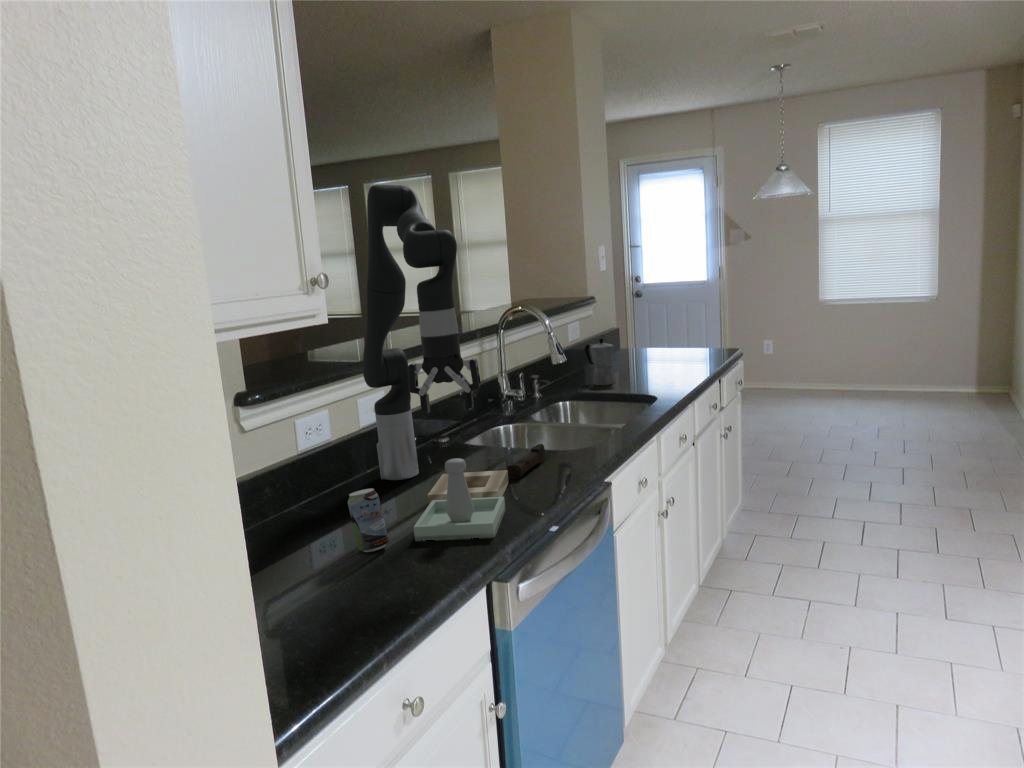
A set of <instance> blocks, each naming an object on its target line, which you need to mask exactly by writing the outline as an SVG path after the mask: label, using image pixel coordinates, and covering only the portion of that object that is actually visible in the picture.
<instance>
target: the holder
mask: <svg viewBox="0 0 1024 768" xmlns="http://www.w3.org/2000/svg"><path fill="white" fill-rule="evenodd" d="M464 475H465V479H466V482H467V486H468V489H469V492H470V496H471V498H487V497H504V494H505V491H506V489H507V487H508V484H509V480H510V479H509V478H508V470H506V469H504V470H485V471H471V472H469V471H468V472H467V471H466V472H464ZM439 477H440V478H439V479H438V480H437V481H436V483H435V484H434V486H433V487H432V489H431V490H430V491H429V492H428V493H427V501H428V505H429V504H430V503H431V501H432V500H447V488H448V473H442V475H441V476H439Z"/></svg>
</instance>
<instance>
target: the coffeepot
mask: <svg viewBox="0 0 1024 768" xmlns="http://www.w3.org/2000/svg"><path fill="white" fill-rule="evenodd" d="M598 341H599V343H596V344H594V343H587V344H586V345H585V347H584V352H585V355H586V359H587V361H588V363H589V365H594V368H593V378H592V384H593V385H594V386H599V385H602V386H610V384H611V385H614V384H616V383H617V380H616V379H617V378H616V375H615V371H614V367H613V365H612V363H613V360H614V350H615V349H616V346H615V345H614V344H611V343H606V342H604V338H602V337H601V338H599V339H598ZM590 354H591V355H590Z"/></svg>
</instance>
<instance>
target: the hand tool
mask: <svg viewBox="0 0 1024 768" xmlns="http://www.w3.org/2000/svg"><path fill="white" fill-rule="evenodd" d="M545 460H546V450H545V445H544V444H543V443H539V444H537V445H535V446H533V447H531V448H530V452H529V453H527V454H526V455H525V456H523V457H522V458H520V459H519V460H517V461H515V462H514V463H512V464H510V465H506V466H507V467H506V469H505V470H508V480H520V479H521V478H523V475H524V474H525V473H526V472H528V471H529V470H531V469H533V468H534V467H535V466H537V465H542V464H543V463H544V462H545Z"/></svg>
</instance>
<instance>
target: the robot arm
mask: <svg viewBox="0 0 1024 768" xmlns="http://www.w3.org/2000/svg"><path fill="white" fill-rule="evenodd" d="M366 200H367V201H366V202H367V203H366V204H367V205H366V214H367V216H366V217H367V239H368V245H367V246H368V255H367V256H368V258H367V259H368V261H367V277H366V324H365V325H366V326H365V327H366V329H365V339H364V348H363V354H362V355H363V356H362V374H363V379H364V382H365V383H366V385H367V386H368V387H369V388H373V389H379V388H384V387H389V386H391V387H390V389H389V391H388V392H387V393H386V394H385V395H383V397H381V398H380V399H378V400H376V401H375V402H374V404H373V406H374V413H375V415H374V416H375V423H376V429H377V437H378V442H377V443H376V450H377V457H378V464H379V471H380V472H379V473H380V474H379V475H380V479H381V480H388V481H399V480H400V481H401V480H407V479H410V478H413V477H416V476H418V474H419V473H420V472H419V463H418V453H417V448H416V447H417V444H416V438H415V430H414V423H413V422H414V421H413V413H412V407H411V401H412V400H411V399H412V395H411V394H414V395H415V394H416V395H418V396H419V401H420V408H421V411H422V412H424V414H429V413H431V404H430V396H429V395H430V394H429V393H428V392H429V389H430V388H431V386H432V385H433V383H436V384H442V383H448V384H449V383H453V382H455V383H456V385H458V386H460V388H462V389H463V391H464V393H463V396H464V397H463V398H464V406H465V412H470V411H471V410H472V408H473V407H474V404H475V402H474V395H473V393H474V392H473V391H475V390H478V389H479V388H480V387H481V386H482V381H481V376H480V370H479V368H480V367H479V363H478V359H477V358H476V357H473V358H471V359H470V358H469V359H463V358H462V355H461V347H460V346H461V345H460V336H459V323H458V319H457V315H456V310H455V302H454V301H455V300H454V291H453V281H454V270H455V264H456V258H457V252H458V243H457V239H456V237H455V236H454V234H453V233H452V232H451V231H450V230H448V229H435V227H434V225H433V224H432V223H431V222H430V221H429V219H427V217H426V215H425V214H424V211H423V208H422V205H421V203H420V201H419V197H418V195H417V194H416V191H415V190H414V189H413V188H412V187H410V186H407V185H401V184H400V185H398V184H397V185H396V184H393V185H392V184H375V185H372V186H370V188H369V189H368V193H367V199H366ZM384 227H396V232H397V235H398V237H399V239H400V241H401V242H402V254H403V257H404V261H405V263H406V264H407V265H408V266H409V267H411V268H414V269H425V268H433V267H434V268H437V267H438V271H437V273H436V275H435V276H433V277H431V278H428V279H425V280H423V281H420V282H418V284H417V285H416V297H417V304H418V311H419V312H418V313H419V314H418V315H419V317H418V318H419V319H418V322H419V323H418V324H419V326H418V327H419V333H420V334H419V335H420V341H421V342H420V343H421V350H422V358H423V361H422V363H421V362H420V363H417V362H415V361H413V362H412V363H410V364H409V362H408V361H409V360H408V357H407V355H406V353H405V352H404V351H403V350H402V349H401V348H399V347H398V348H397V347H395V348H389V349H384V345H385V342H386V338H387V336H388V334H389V332H390V331H391V330H392V328H393V326H394V325H395V324H396V322H397V321H398V319H399V317H400V316H401V313H402V312H403V310H404V308H405V302H406V288H407V287H406V286H407V282H406V276H405V274H404V272H403V270H402V269H401V267H400V265H399V264H398V262H397V261H396V259H395V258H394V256H393V254H392V253H391V251H390V249H389V247H388V245H387V243H386V241H385V237H384ZM464 366H465V367H466V369H467V371H470V377H471V382H472V383H470V382H469V381H468V380H467V378H466V377H465V375H464V374H463V373H462V372H461V371H462V370H463V369H464V368H463V367H464ZM421 370H422V371H423V372H424V373H425V374H426V375H427V377H426V378H425V380H424V382H423V384H422V385H421V386H419V374H420V373H421Z"/></svg>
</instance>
